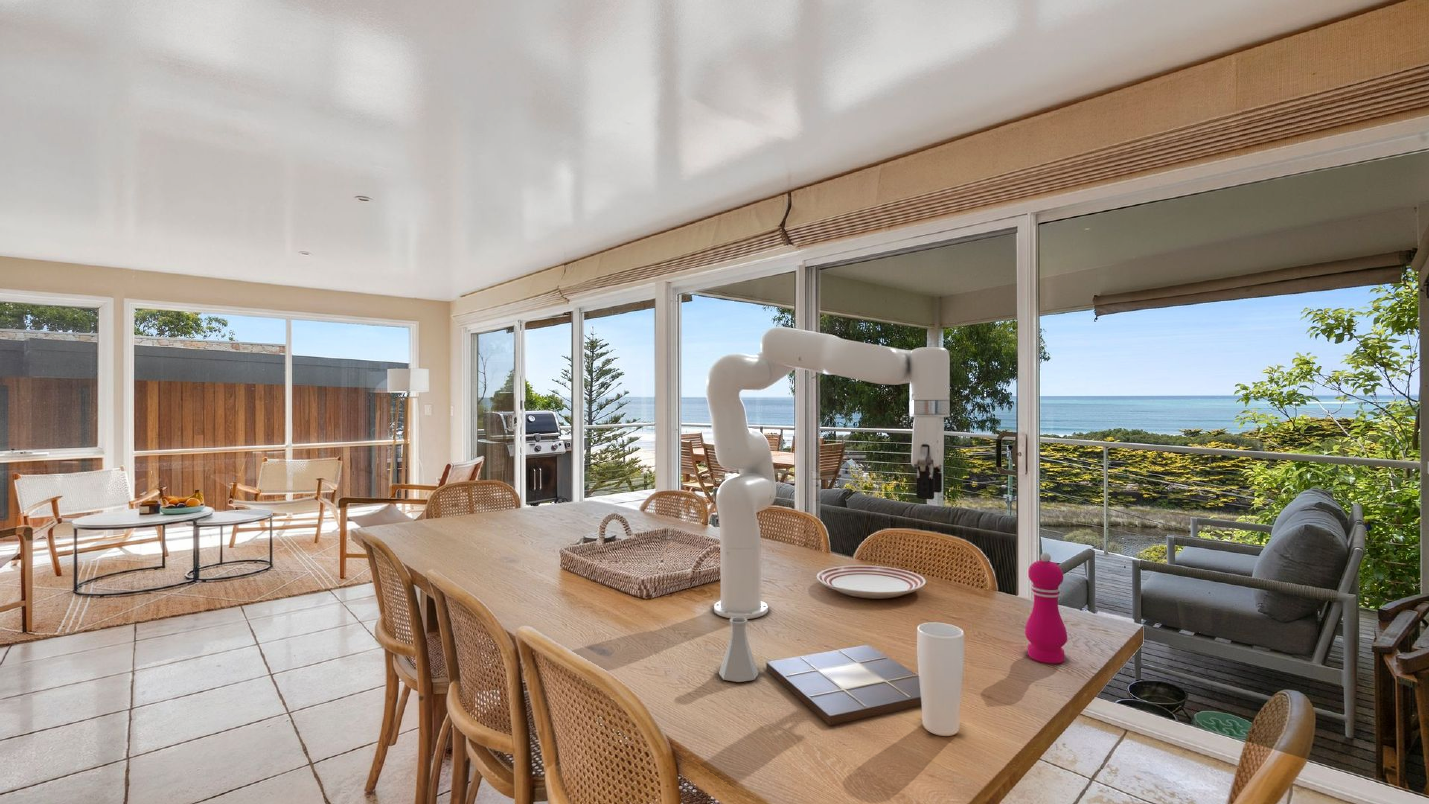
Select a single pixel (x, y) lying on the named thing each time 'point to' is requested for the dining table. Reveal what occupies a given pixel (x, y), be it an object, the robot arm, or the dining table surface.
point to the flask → (738, 654)
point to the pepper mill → (1045, 613)
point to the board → (848, 683)
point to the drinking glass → (940, 676)
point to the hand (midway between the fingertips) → (929, 495)
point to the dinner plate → (871, 581)
